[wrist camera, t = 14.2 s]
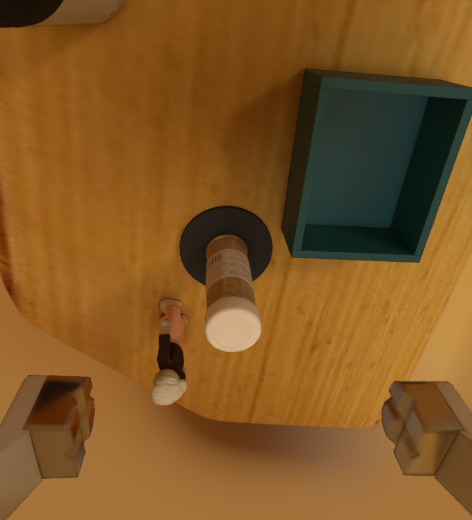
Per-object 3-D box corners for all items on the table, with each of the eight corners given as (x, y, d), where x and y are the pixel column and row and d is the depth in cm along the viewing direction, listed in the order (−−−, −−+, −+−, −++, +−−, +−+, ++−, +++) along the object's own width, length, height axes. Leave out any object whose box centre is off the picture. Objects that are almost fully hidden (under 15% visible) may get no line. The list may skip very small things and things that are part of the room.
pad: (180, 203, 41) (180, 205, 41) (277, 208, 42) (278, 210, 42) (179, 285, 46) (179, 287, 46) (266, 288, 47) (266, 290, 47)
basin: (304, 68, 36) (321, 76, 30) (441, 79, 37) (481, 89, 31) (281, 228, 43) (291, 257, 38) (394, 234, 44) (419, 263, 39)
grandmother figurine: (144, 298, 47) (125, 381, 36) (174, 286, 46) (164, 368, 35) (175, 343, 51) (165, 432, 40) (203, 333, 50) (201, 420, 39)
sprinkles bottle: (219, 275, 45) (223, 362, 34) (197, 244, 43) (193, 326, 32) (255, 256, 44) (272, 339, 33) (234, 224, 42) (244, 300, 31)
